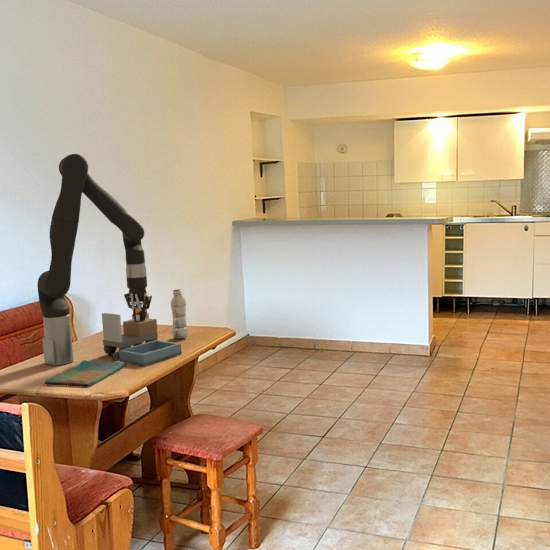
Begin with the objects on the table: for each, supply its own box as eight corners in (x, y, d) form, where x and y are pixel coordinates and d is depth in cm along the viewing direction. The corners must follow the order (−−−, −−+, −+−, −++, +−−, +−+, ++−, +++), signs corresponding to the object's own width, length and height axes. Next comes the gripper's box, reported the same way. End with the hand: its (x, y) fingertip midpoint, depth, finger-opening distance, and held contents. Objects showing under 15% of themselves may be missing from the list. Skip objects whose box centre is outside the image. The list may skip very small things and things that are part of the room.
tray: (144, 366, 221) (143, 355, 220) (119, 361, 228) (118, 350, 228) (181, 354, 235) (180, 343, 234) (157, 350, 243) (156, 339, 242)
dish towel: (127, 368, 222) (126, 361, 221) (90, 389, 199) (89, 381, 199) (83, 366, 226) (83, 359, 226) (43, 386, 204) (42, 379, 204)
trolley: (117, 360, 230) (113, 316, 228) (98, 356, 236) (95, 314, 234) (160, 347, 247) (157, 306, 244) (141, 344, 253) (138, 304, 251)
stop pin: (140, 334, 244) (138, 308, 242) (135, 333, 245) (133, 308, 244) (145, 332, 246) (143, 307, 244) (140, 332, 247) (139, 306, 246)
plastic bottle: (169, 340, 258) (166, 291, 255) (176, 336, 264) (173, 288, 262) (184, 340, 256) (181, 291, 253) (191, 336, 262) (188, 288, 260)
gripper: (116, 275, 244) (120, 320, 246) (141, 277, 235) (144, 323, 238) (131, 273, 250) (134, 316, 252) (156, 274, 241) (159, 319, 244)
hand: (139, 319), depth 245 cm, fingers closed on stop pin, 2 cm apart
